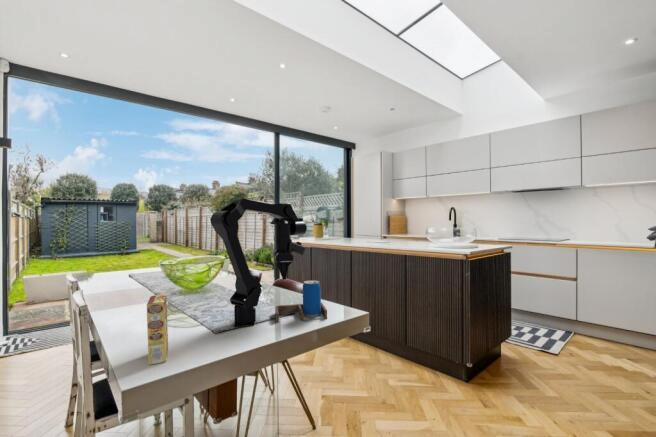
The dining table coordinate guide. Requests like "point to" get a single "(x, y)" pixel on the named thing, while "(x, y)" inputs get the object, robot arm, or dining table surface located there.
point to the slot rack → (298, 311)
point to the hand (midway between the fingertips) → (283, 277)
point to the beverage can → (311, 298)
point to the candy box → (157, 329)
